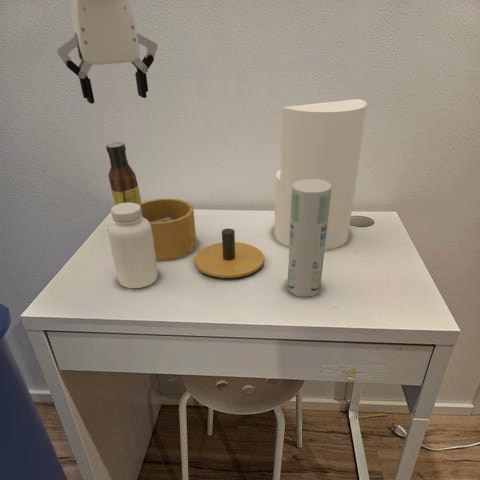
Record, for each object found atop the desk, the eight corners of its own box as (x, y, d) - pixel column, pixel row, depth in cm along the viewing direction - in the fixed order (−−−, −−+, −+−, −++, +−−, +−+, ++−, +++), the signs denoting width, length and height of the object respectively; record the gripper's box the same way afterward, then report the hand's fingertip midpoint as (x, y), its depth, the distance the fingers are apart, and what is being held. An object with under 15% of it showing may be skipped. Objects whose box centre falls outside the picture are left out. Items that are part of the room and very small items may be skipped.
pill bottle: (137, 294, 83) (123, 220, 74) (109, 281, 87) (93, 209, 78) (166, 276, 88) (157, 205, 79) (139, 265, 92) (127, 196, 83)
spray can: (319, 299, 80) (330, 193, 68) (284, 295, 82) (289, 190, 70) (322, 281, 85) (333, 179, 73) (289, 277, 87) (294, 177, 75)
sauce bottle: (147, 222, 109) (134, 139, 98) (144, 233, 104) (130, 147, 93) (121, 223, 109) (104, 140, 97) (117, 234, 104) (99, 148, 92)
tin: (146, 266, 91) (140, 228, 86) (128, 240, 101) (122, 205, 96) (205, 251, 96) (203, 214, 91) (183, 228, 106) (179, 194, 101)
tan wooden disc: (212, 287, 84) (210, 254, 80) (184, 256, 95) (181, 225, 90) (276, 269, 89) (278, 237, 85) (243, 241, 100) (243, 211, 96)
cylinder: (363, 241, 99) (385, 106, 82) (295, 256, 93) (305, 115, 77) (323, 214, 111) (335, 92, 95) (262, 226, 106) (263, 99, 90)
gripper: (142, -18, 76) (155, 92, 86) (38, -17, 70) (65, 101, 80) (156, -19, 71) (168, 97, 81) (44, -18, 64) (73, 108, 75)
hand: (117, 99), depth 80 cm, fingers open, 9 cm apart
